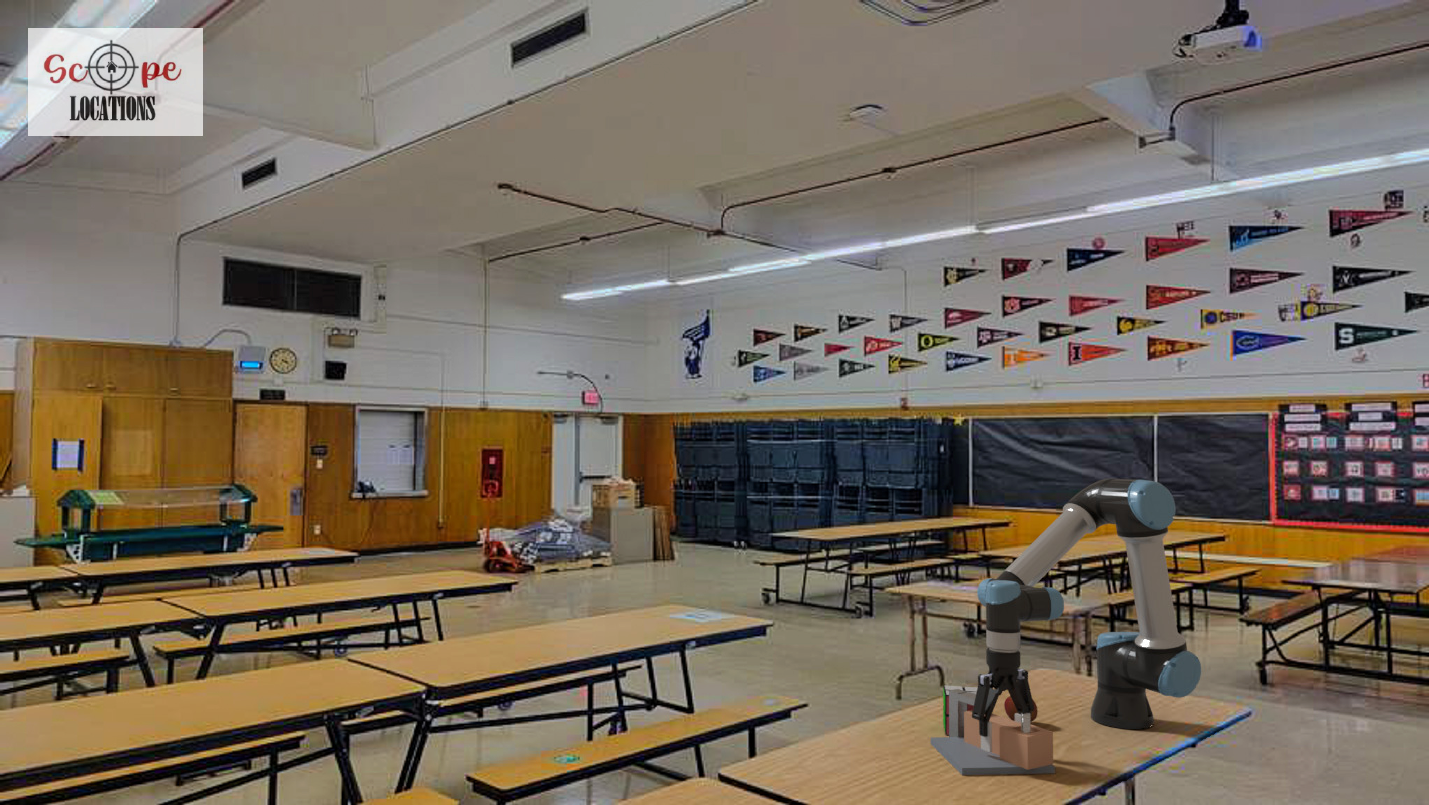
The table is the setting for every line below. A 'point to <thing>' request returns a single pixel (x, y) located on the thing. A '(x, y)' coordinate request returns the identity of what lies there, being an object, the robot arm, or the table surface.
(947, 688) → the puzzle cube
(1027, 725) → the peg
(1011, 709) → the apple
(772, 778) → the table surface
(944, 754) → the board
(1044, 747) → the tan socket bar
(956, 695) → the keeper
